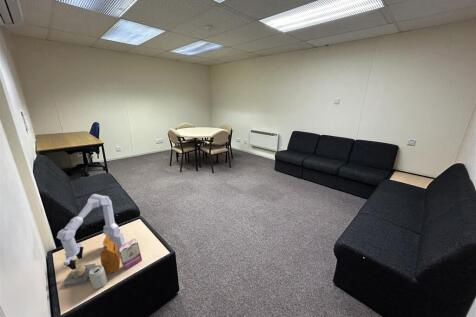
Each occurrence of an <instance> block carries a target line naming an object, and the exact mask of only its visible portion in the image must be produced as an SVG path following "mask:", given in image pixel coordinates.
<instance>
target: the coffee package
mask: <svg viewBox="0 0 476 317" xmlns="http://www.w3.org/2000/svg"><path fill="white" fill-rule="evenodd" d="M109 237H110V236H108V235H107V236H106V235H105V238H104V239H103V242H102V244H103V248H102V250H101V252H100V255H99V258H100V264H101V266H103V267H104V270H105V273H106V275H108V274H111V273H113V272H117V271H119V270H120V265H121V259H120V255H119V252H118V249H117V246H116V244H115V243H113V242H112V241H110V240H109Z"/></svg>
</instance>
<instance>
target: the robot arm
mask: <svg viewBox="0 0 476 317" xmlns="http://www.w3.org/2000/svg"><path fill="white" fill-rule="evenodd" d="M101 206H102V211H103V212H102V213H103V216H104V222H105V223H104V224H105V225H103V230H102V233H103V234H104V235H105V237H106V236H107V235H108V236H110V237H109V240H110V241H112V242H113V243H115V244H116V246H117V248H118V247H120V246H122V245H123V244H125V240H126V239H125V237H124V233H123V232H122V233H121V228H119V225H118V224H117V223H116V221H115V215H114V210H113V203H112V200H111V199H110V196H108V195H101V194H98V193H93V194H91V195H90V196H89V198H88V199H87V203H86V204H85V205H84V206H83V208H82V210H80V212H79V214H77V216H74V217H73V218H71V219H70V220H69V222H68V223H67V224H66V225H65V227H64V228H62V229H61V230H59V231H58V232H57V236H56V238H57V239H58V240H60V241H61V242H60V243H61V245H62V247H63V249H64V252H65V253H64V256H65V259H64V260H65V261H63V266H66V267H68V268H69V269H70V270H71V271H72V270H73V269H76V265H77V264H76V262H77V260H81V259H83V252H84V249H85V248H84V246H82V243H77V241H76V239H75V235H76V232H77V230H78V229H79V228H80V226H81V225H82V224H83V222H84V218H86V217H87V215H88V214H89V213H90V212H91V211H92V210H93V209H96V208H100V207H101ZM75 257H76V259H77V260H76V259H74V258H75Z"/></svg>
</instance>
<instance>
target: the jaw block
mask: <svg viewBox="0 0 476 317" xmlns="http://www.w3.org/2000/svg"><path fill="white" fill-rule="evenodd" d="M84 265H85V264H78V265H77V264H76V269H73V271H72V270H71V271H72V274H73V276H74V278H78V277H83V276H84V274H85V272H86V269H85V266H84Z"/></svg>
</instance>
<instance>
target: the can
mask: <svg viewBox="0 0 476 317" xmlns="http://www.w3.org/2000/svg"><path fill="white" fill-rule="evenodd" d="M95 265H96V264H95ZM89 278H90V279H89V281H90V282H91V286H92V288H93V289H95V290H96V289H101V288H102V287H104V286H105V285H106V284H107V282H108V277H107V274H106V273H105V270H104V267H103V266H102V265H100V264H97V265H96V266H94V267H93V268H91V269H90V271H89Z"/></svg>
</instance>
